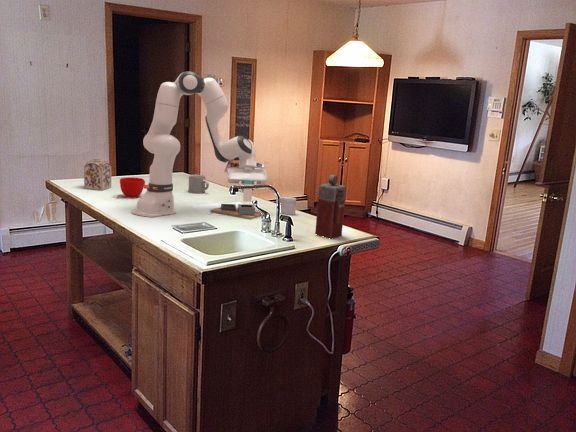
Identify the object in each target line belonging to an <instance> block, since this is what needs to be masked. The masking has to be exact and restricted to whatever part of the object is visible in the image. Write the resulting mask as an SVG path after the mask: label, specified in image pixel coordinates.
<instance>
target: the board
mask: <svg viewBox="0 0 576 432" xmlns="http://www.w3.org/2000/svg"><path fill="white" fill-rule="evenodd" d="M209 212H210V213H214V214H219V215H224V216H231V217H235V218H239V219H246V220H253V219H255V218H259V217H262V216H261V213H262V212H261V211H256V210H255V216H247V215H239V214H238V207H236V211H221V206H219V207H217V208H214V209H210V211H209ZM260 212H261V213H260Z"/></svg>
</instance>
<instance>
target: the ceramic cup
mask: <svg viewBox="0 0 576 432" xmlns="http://www.w3.org/2000/svg"><path fill="white" fill-rule="evenodd" d="M119 185H120V186H119V187H120V190H121V192H122V194H123V195H124V197H125V198H128V199H136V198H138V197H140V195H142V193H143V190H144V188H143V186H144V185H146V180H145V179H144V178H140V177H130V176H129V177H121V178H119Z"/></svg>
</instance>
